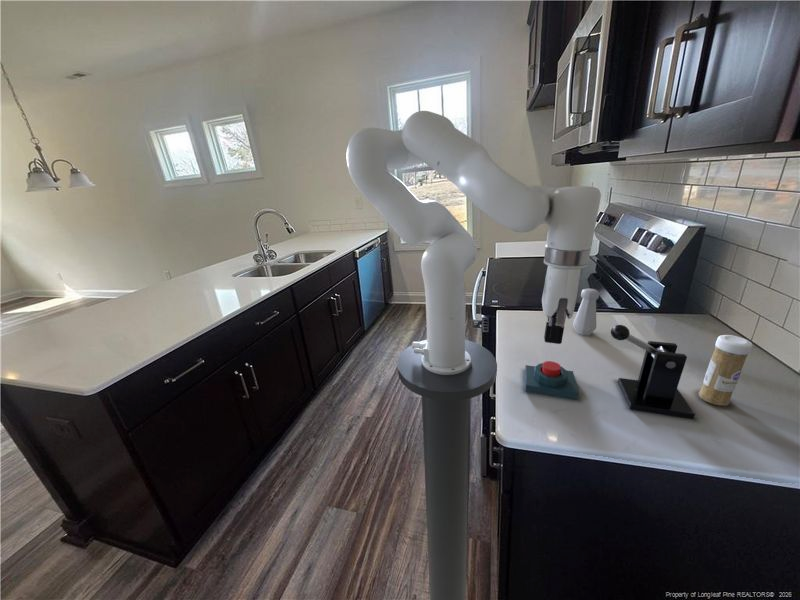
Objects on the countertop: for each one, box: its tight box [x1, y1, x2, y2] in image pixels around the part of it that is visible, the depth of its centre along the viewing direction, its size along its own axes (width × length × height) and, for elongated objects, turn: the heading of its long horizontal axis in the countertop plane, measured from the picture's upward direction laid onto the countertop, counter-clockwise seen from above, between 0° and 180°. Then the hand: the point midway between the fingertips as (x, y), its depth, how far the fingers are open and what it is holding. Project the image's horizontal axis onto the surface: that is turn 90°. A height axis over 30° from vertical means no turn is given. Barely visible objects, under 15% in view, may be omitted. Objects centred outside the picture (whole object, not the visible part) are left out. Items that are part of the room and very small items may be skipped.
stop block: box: [524, 362, 579, 400], centre depth 70 cm, size 10×8×4 cm
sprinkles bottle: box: [698, 334, 753, 407], centre depth 60 cm, size 5×5×13 cm
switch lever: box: [610, 324, 673, 358], centre depth 61 cm, size 12×3×3 cm, turn 71°
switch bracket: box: [617, 340, 696, 420], centre depth 62 cm, size 10×9×12 cm
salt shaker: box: [572, 287, 600, 336], centre depth 88 cm, size 6×6×13 cm
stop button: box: [542, 360, 562, 377], centre depth 69 cm, size 4×4×2 cm
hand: (552, 341), depth 66 cm, fingers closed
